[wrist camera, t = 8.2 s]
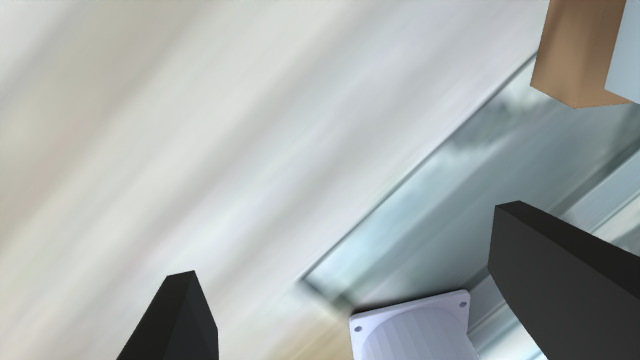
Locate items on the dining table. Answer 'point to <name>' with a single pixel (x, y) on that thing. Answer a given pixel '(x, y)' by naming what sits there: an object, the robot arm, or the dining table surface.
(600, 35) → the walnut base
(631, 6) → the light grey cube
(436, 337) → the robot arm
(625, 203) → the dining table surface
